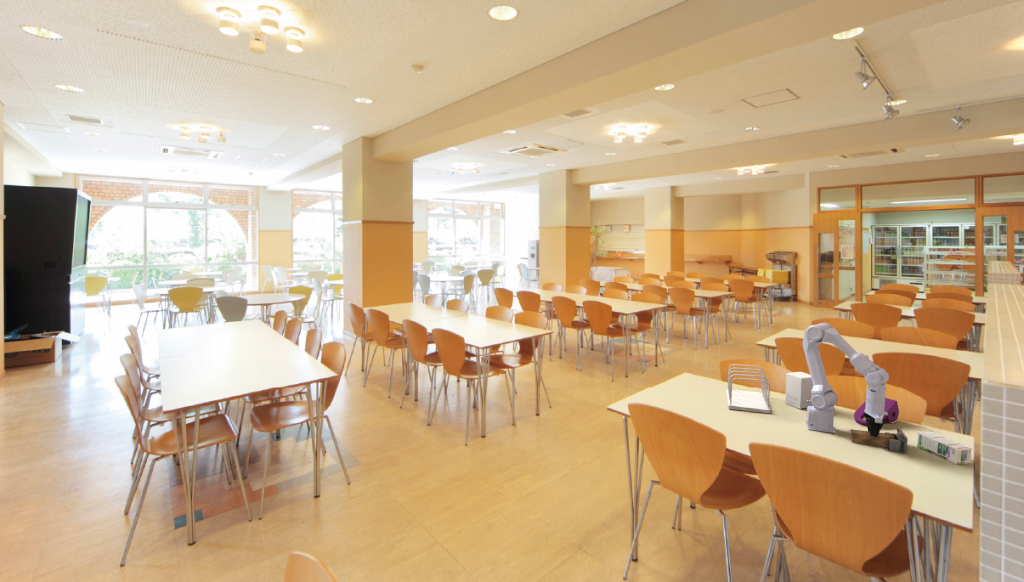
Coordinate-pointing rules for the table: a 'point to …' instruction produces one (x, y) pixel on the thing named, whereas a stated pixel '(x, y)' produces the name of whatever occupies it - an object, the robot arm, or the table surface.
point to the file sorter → (748, 393)
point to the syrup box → (944, 447)
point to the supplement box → (798, 389)
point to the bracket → (898, 442)
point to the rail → (870, 438)
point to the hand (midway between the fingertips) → (872, 434)
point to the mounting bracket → (889, 407)
